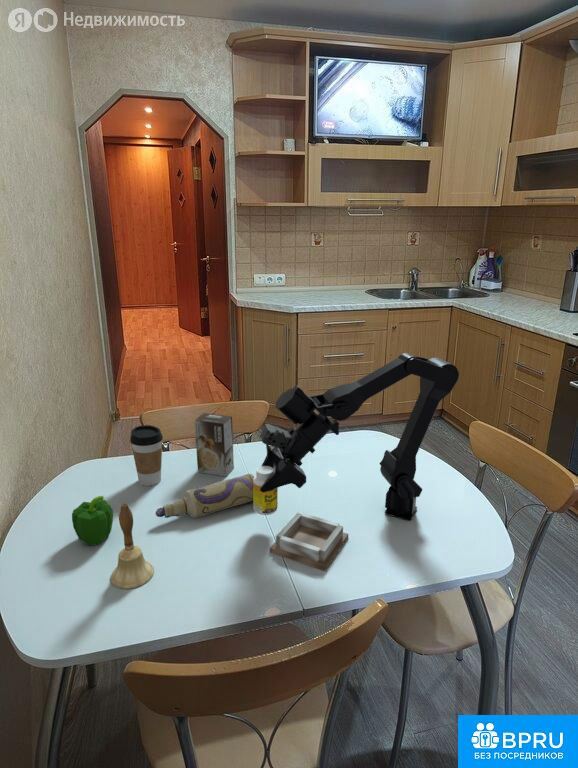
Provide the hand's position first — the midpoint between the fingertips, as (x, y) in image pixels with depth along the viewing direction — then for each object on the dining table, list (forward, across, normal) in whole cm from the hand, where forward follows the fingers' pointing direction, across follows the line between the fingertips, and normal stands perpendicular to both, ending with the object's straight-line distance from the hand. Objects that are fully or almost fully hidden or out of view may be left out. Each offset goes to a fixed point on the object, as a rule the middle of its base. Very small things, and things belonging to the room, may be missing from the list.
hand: (259, 484), depth 112 cm
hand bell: (+28, +11, -12) cm, 32 cm away
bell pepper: (+34, -3, -18) cm, 38 cm away
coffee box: (+14, -31, +3) cm, 34 cm away
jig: (+1, +8, +15) cm, 17 cm away
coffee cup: (+26, -28, -10) cm, 40 cm away
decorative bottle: (+16, -11, +1) cm, 19 cm away
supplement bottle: (+4, 0, +6) cm, 7 cm away
